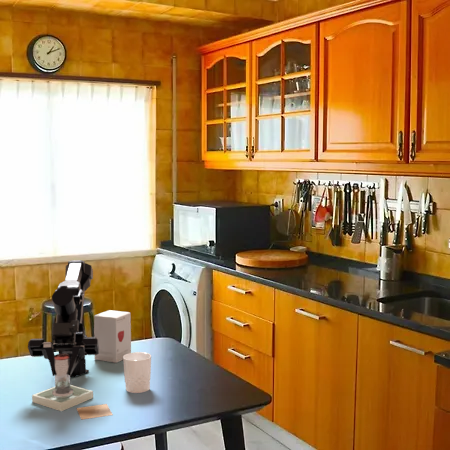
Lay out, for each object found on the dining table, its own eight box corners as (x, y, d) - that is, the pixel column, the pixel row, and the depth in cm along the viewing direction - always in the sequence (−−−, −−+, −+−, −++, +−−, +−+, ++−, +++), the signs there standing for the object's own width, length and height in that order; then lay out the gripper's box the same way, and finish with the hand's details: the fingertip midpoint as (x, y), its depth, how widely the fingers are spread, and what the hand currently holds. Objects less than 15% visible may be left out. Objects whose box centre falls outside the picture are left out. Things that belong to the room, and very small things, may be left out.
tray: (32, 403, 177) (32, 395, 177) (64, 391, 187) (64, 383, 187) (61, 412, 171) (61, 404, 171) (93, 399, 180) (93, 391, 180)
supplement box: (116, 363, 211) (115, 318, 210) (93, 359, 215) (92, 315, 214) (132, 355, 220) (131, 312, 218) (110, 352, 223) (109, 309, 222)
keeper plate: (76, 410, 173) (76, 408, 173) (106, 405, 176) (106, 403, 176) (81, 421, 166) (81, 419, 166) (112, 416, 169) (112, 414, 169)
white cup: (129, 397, 182) (128, 362, 181) (120, 388, 189) (119, 354, 188) (155, 392, 186) (155, 358, 185) (145, 383, 193) (145, 350, 192)
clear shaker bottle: (48, 394, 179) (47, 355, 178) (67, 389, 183) (66, 351, 182) (57, 400, 175) (56, 360, 174) (77, 395, 179) (76, 356, 177)
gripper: (27, 310, 179) (20, 362, 170) (97, 308, 181) (94, 360, 171) (34, 330, 188) (27, 381, 178) (100, 328, 190) (97, 379, 180)
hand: (61, 375), depth 177 cm, fingers closed on clear shaker bottle, 4 cm apart
